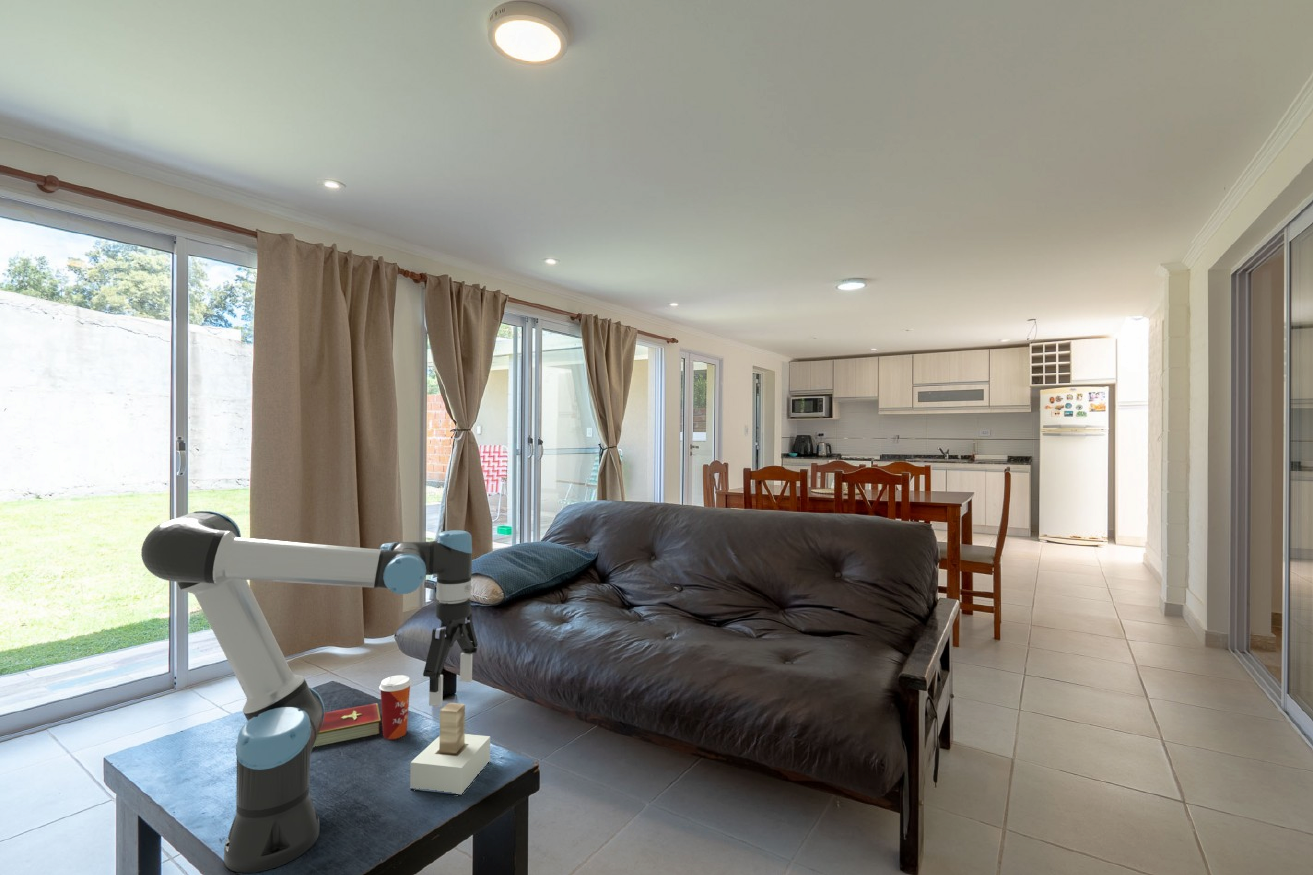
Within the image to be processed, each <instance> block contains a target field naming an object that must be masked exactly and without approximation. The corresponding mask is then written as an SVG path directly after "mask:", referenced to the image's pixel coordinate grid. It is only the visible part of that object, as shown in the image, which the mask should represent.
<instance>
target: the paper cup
mask: <svg viewBox="0 0 1313 875" xmlns="http://www.w3.org/2000/svg"><path fill="white" fill-rule="evenodd" d="M411 685H412V681H411V678H410V677H409V676H407V675H403V674H401V675H392V676H388V677H386V678H384V679H382V680H381V682H380V685H379V688H378V689H379V690H380V703H381V704H380V705H381V723H382V735H383V739H385V740H398V739H401V738H402V736H403V737H405V735H406V734H407V731H408V722H409V719H408V718H409V707H410V705H409V704H410V692H411V690H410V689H411ZM400 737H401V738H400ZM397 738H398V739H397Z"/></svg>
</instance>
